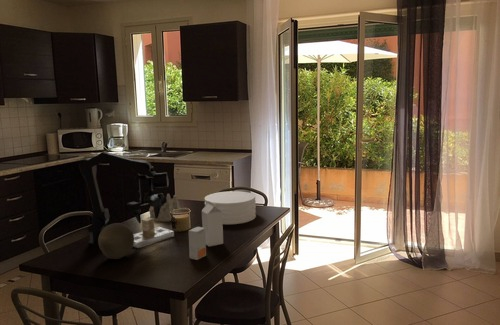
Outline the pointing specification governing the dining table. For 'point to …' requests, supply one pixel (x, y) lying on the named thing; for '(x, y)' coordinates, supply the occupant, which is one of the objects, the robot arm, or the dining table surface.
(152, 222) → the wooden peg
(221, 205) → the plate stack
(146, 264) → the dining table surface
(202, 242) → the skincare box
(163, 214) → the ceramic cottage
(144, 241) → the white flat tray
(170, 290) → the dining table surface
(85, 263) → the dining table surface
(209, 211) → the milk carton
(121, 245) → the cantaloupe
